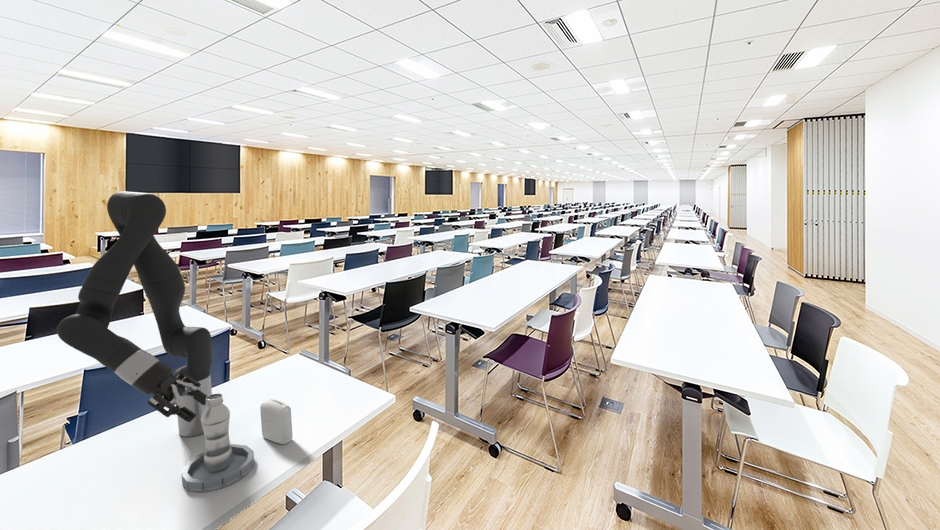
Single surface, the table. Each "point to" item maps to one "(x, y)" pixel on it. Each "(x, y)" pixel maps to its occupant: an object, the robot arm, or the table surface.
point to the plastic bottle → (216, 434)
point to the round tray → (206, 481)
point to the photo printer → (276, 421)
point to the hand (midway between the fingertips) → (200, 410)
